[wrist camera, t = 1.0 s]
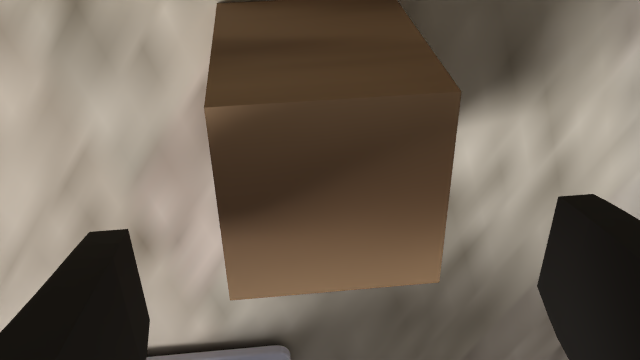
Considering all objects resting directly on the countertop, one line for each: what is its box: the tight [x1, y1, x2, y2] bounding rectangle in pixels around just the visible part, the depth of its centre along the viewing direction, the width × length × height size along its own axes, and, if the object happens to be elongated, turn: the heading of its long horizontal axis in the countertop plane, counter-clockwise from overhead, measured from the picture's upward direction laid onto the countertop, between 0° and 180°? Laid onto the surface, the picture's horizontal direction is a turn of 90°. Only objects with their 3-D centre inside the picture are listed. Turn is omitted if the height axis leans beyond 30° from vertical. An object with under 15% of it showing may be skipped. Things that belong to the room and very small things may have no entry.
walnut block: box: [204, 0, 461, 300], centre depth 14 cm, size 4×4×6 cm
